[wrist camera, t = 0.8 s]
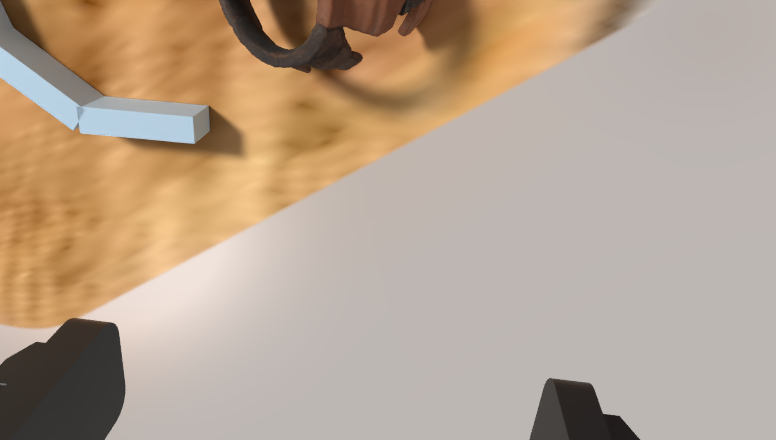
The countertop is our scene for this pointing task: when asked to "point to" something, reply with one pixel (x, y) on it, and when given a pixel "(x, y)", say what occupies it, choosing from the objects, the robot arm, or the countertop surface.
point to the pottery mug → (324, 31)
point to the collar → (92, 97)
